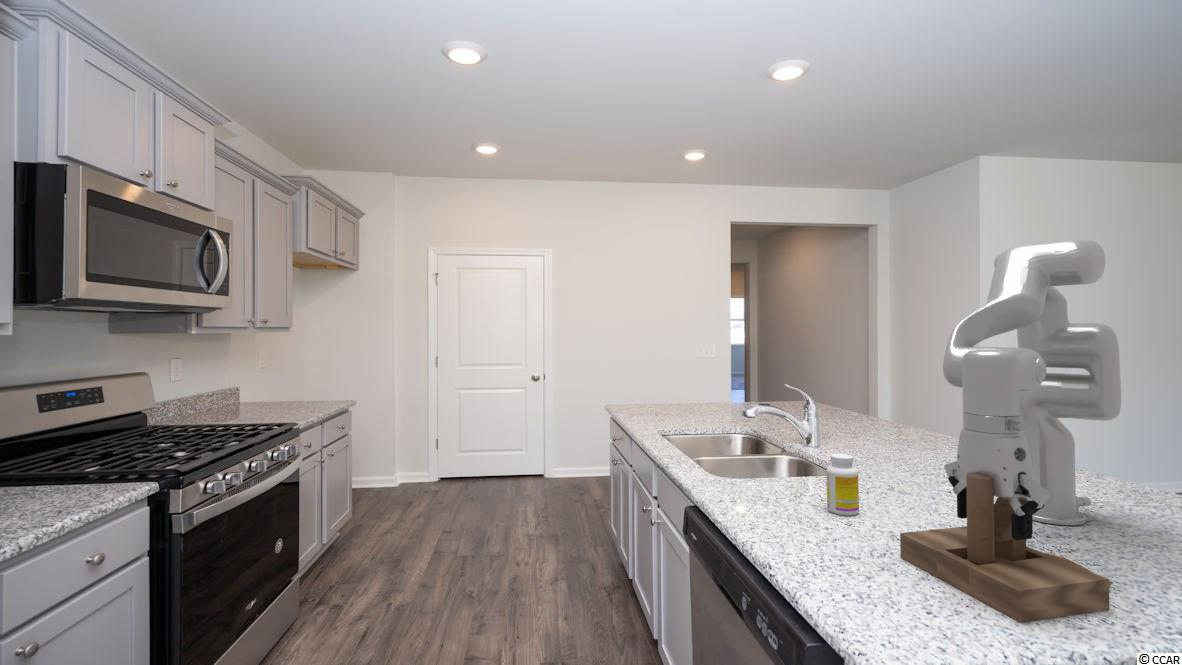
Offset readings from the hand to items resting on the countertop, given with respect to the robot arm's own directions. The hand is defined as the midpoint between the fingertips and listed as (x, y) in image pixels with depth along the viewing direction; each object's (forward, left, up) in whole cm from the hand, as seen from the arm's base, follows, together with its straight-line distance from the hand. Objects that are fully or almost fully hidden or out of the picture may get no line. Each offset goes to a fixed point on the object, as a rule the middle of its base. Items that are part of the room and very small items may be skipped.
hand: (992, 527), depth 86 cm
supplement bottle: (+2, -35, -9) cm, 36 cm away
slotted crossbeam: (0, 0, -9) cm, 9 cm away
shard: (-16, -1, -10) cm, 18 cm away
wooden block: (0, 0, -9) cm, 9 cm away
